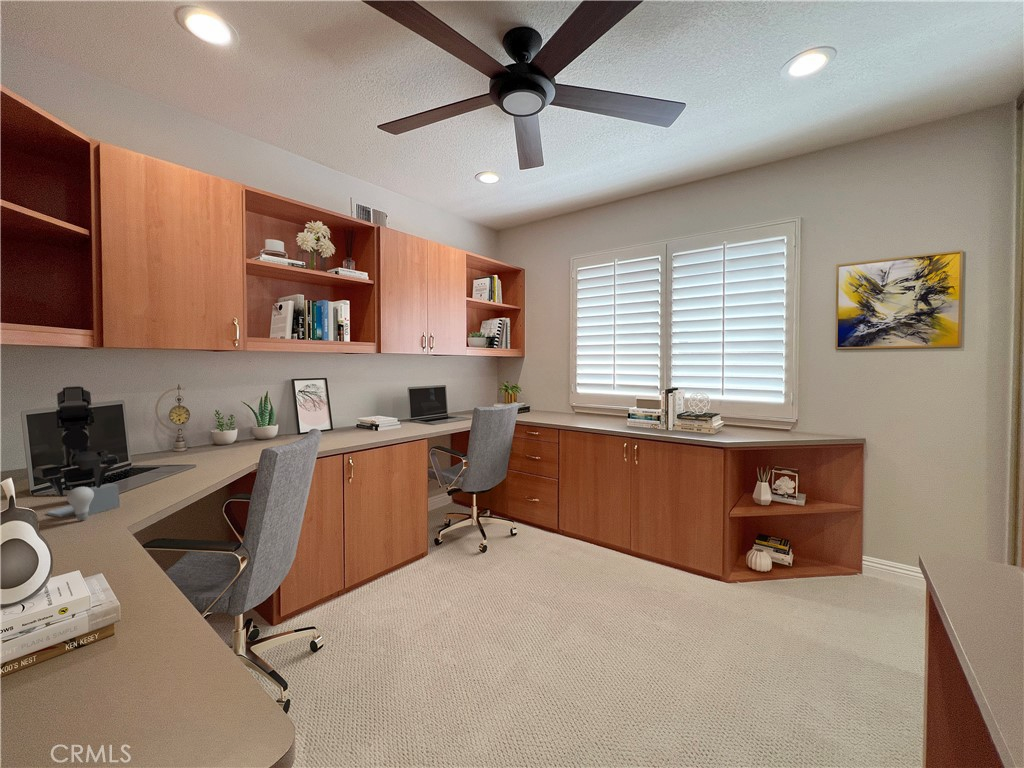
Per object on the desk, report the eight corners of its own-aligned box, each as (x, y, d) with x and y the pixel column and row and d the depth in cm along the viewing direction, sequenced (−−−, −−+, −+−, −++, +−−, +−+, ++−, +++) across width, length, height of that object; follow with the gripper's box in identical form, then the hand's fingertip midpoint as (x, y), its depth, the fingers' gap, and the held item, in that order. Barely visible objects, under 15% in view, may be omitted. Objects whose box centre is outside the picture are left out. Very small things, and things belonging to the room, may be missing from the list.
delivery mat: (46, 514, 144) (46, 511, 144) (80, 505, 152) (80, 503, 152) (61, 517, 140) (61, 514, 140) (96, 508, 149) (95, 505, 149)
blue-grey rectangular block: (73, 515, 142) (71, 491, 142) (110, 505, 152) (108, 483, 151) (83, 516, 141) (81, 493, 140) (119, 506, 150) (118, 484, 149)
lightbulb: (78, 524, 134) (75, 490, 133) (63, 523, 135) (60, 489, 134) (100, 517, 140) (98, 484, 139) (86, 516, 141) (83, 483, 140)
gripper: (51, 451, 124) (55, 504, 125) (127, 439, 142) (130, 485, 143) (30, 449, 128) (34, 500, 129) (106, 438, 146) (110, 482, 147)
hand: (80, 491), depth 137 cm, fingers open, 9 cm apart
